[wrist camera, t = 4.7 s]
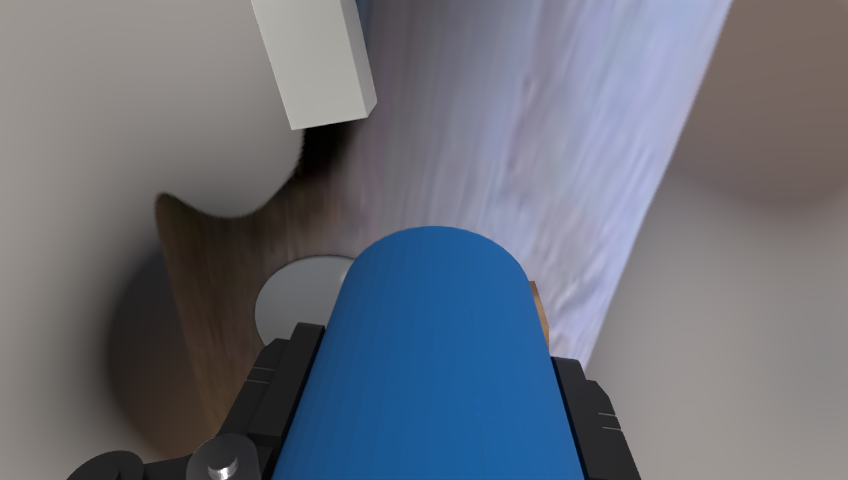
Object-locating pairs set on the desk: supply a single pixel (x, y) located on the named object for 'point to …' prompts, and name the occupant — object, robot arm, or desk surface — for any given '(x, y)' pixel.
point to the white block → (317, 59)
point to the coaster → (300, 295)
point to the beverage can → (432, 371)
